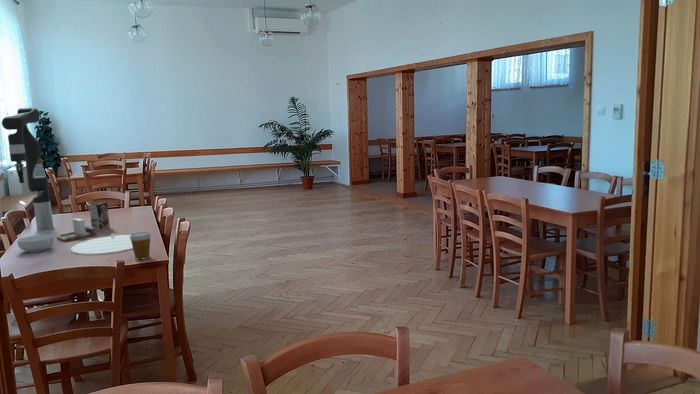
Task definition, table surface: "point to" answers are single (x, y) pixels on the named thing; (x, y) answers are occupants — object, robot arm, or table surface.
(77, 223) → the pale green rectangular block
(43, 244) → the cereal bowl
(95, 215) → the coffee box
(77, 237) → the track
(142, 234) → the beer glass
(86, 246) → the lazy susan
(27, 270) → the table surface
